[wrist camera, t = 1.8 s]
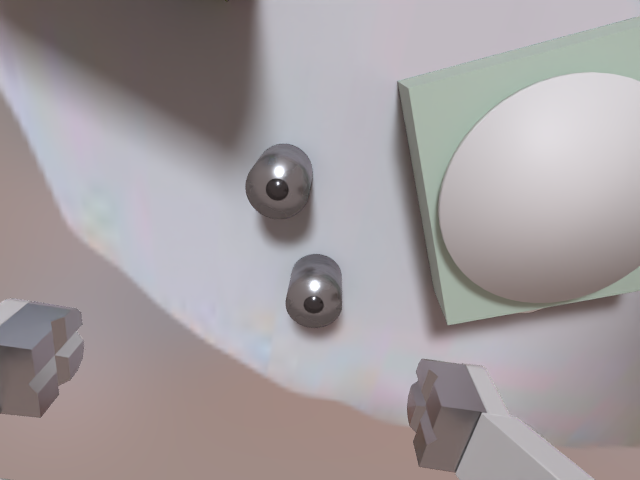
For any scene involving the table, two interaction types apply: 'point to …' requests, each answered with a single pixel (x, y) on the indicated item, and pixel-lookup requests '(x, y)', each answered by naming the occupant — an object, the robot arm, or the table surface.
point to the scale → (530, 173)
